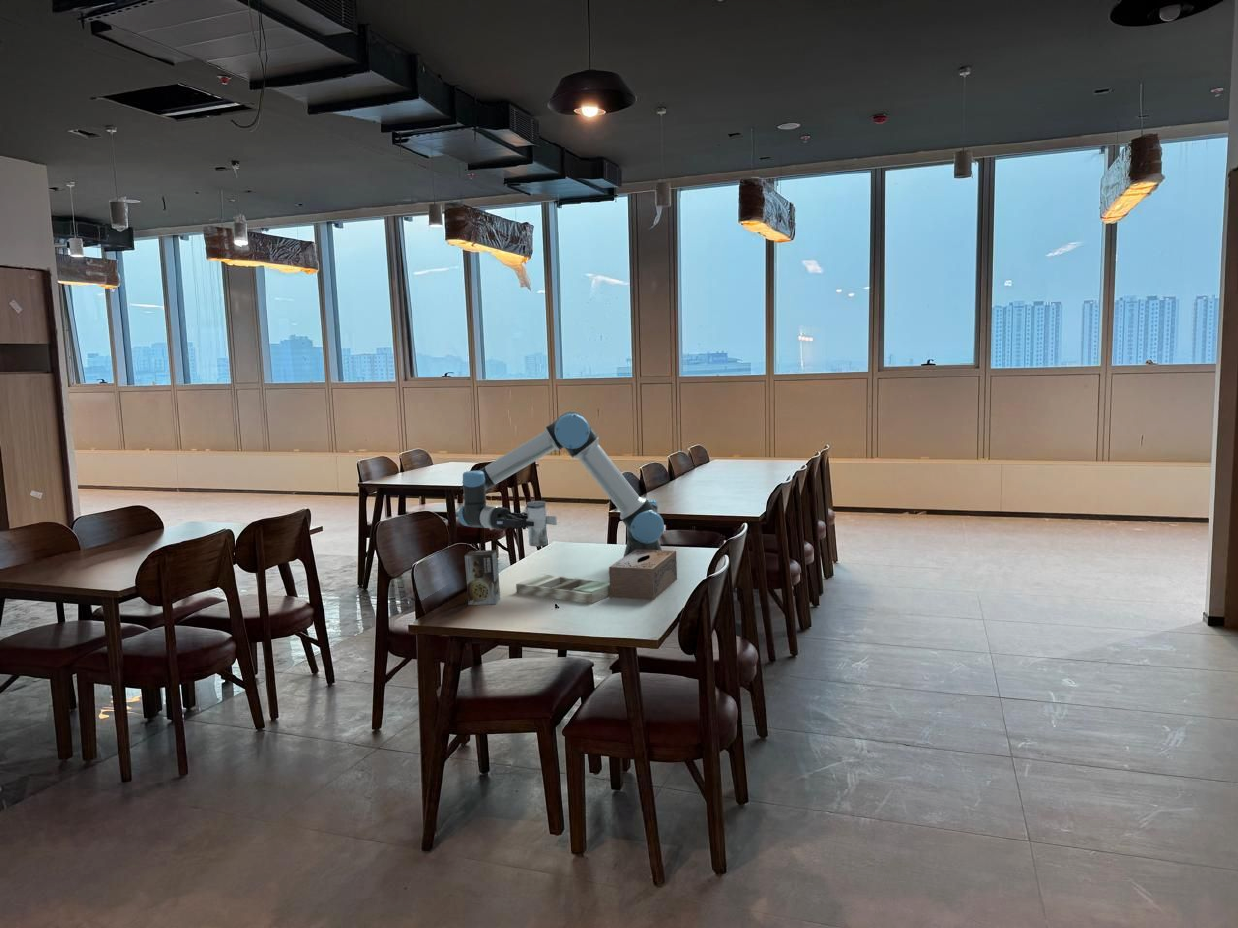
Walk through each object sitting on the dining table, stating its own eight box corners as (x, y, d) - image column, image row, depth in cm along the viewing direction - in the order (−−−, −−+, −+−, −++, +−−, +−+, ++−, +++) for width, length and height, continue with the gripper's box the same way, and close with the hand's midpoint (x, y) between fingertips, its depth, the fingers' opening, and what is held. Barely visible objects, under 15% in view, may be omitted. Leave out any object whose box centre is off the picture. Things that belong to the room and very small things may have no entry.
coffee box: (501, 599, 262) (498, 549, 260) (496, 604, 256) (492, 554, 254) (473, 599, 263) (469, 550, 261) (467, 605, 256) (464, 554, 255)
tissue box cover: (636, 577, 282) (635, 549, 281) (677, 579, 277) (676, 550, 276) (610, 598, 258) (608, 567, 257) (653, 600, 253) (652, 568, 252)
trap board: (516, 592, 269) (515, 582, 268) (543, 582, 280) (543, 573, 280) (590, 603, 252) (589, 592, 252) (616, 592, 263) (615, 582, 263)
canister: (548, 542, 273) (546, 500, 271) (546, 546, 267) (544, 503, 265) (530, 542, 273) (528, 501, 272) (527, 546, 267) (525, 504, 266)
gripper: (515, 524, 287) (567, 528, 274) (477, 533, 272) (530, 539, 259) (514, 502, 287) (566, 506, 274) (476, 511, 271) (529, 515, 258)
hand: (549, 522), depth 266 cm, fingers closed on canister, 6 cm apart
